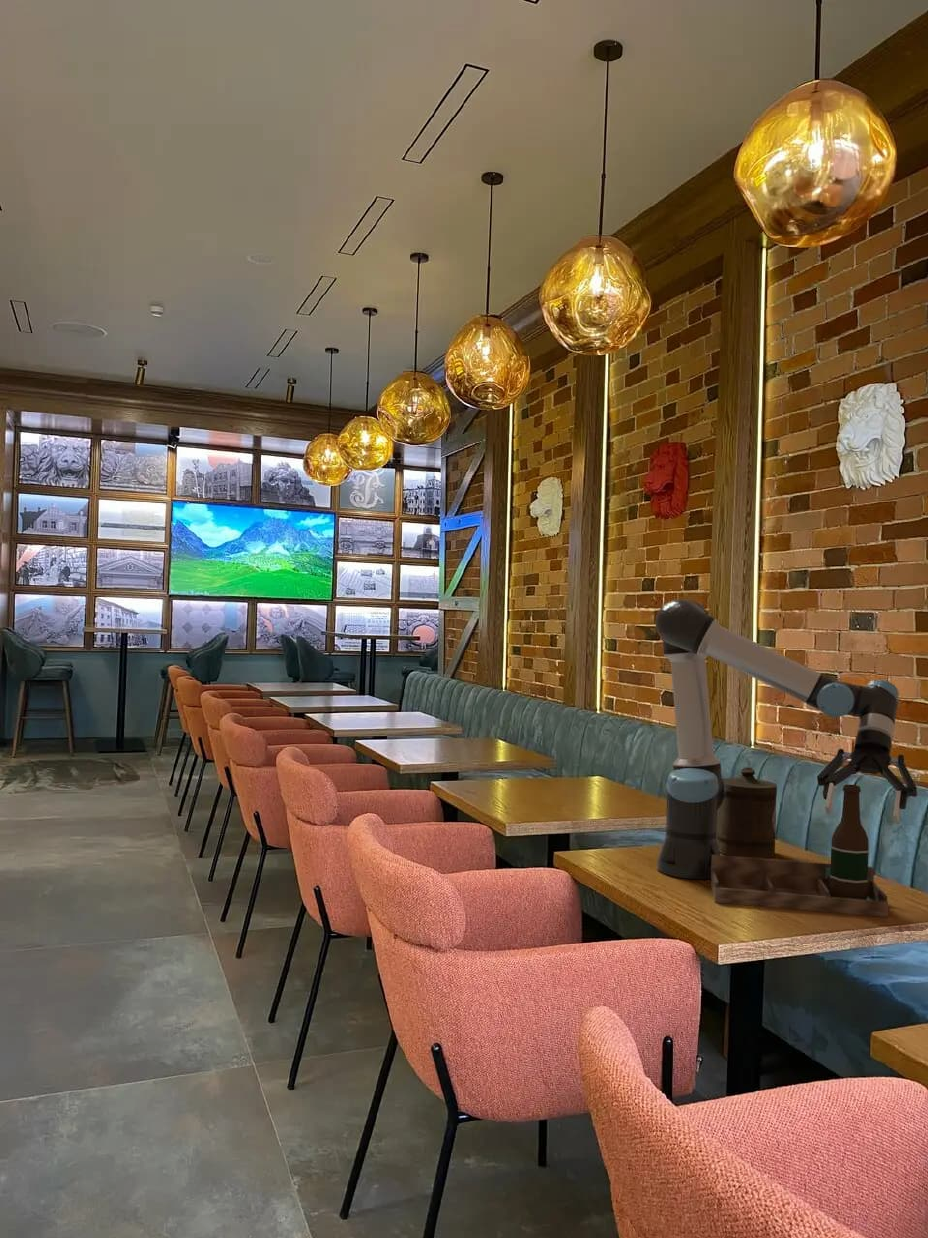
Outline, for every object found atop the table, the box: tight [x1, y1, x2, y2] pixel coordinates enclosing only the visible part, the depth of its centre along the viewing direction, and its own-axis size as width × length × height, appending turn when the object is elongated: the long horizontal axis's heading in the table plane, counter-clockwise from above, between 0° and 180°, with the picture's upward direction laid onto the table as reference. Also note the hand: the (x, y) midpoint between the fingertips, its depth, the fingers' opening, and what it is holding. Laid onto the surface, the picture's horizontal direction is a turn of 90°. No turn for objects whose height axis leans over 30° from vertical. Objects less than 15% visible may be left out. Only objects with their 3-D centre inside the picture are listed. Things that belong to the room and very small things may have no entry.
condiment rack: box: [710, 854, 889, 918], centre depth 199 cm, size 34×13×7 cm, turn 79°
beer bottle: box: [830, 783, 870, 900], centre depth 197 cm, size 8×8×24 cm
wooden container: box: [716, 766, 778, 859], centre depth 243 cm, size 15×15×22 cm
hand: (860, 815), depth 200 cm, fingers open, 13 cm apart
